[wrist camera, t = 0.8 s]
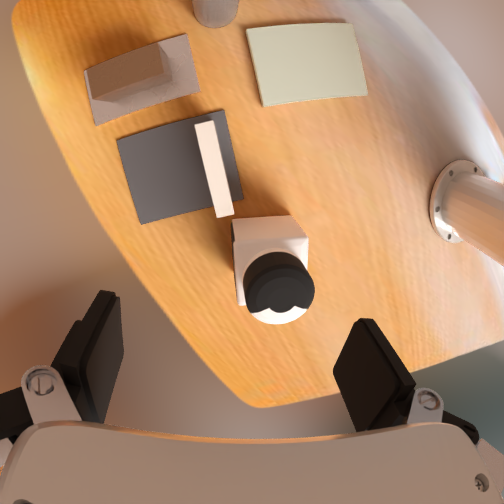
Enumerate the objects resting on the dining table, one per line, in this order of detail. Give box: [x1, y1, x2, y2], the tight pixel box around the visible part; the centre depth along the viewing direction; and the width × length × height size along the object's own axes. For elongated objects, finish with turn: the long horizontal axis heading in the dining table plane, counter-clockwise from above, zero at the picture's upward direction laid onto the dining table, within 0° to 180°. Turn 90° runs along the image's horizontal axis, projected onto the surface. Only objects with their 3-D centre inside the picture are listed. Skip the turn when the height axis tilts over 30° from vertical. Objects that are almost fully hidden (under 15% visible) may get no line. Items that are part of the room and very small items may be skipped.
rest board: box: [246, 23, 368, 107], centre depth 27 cm, size 12×9×1 cm
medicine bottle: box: [230, 215, 315, 324], centre depth 30 cm, size 7×7×12 cm
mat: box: [117, 110, 244, 225], centre depth 31 cm, size 12×10×1 cm
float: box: [84, 34, 201, 126], centre depth 24 cm, size 12×7×6 cm, turn 102°
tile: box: [195, 120, 234, 218], centre depth 27 cm, size 2×8×8 cm, turn 11°
